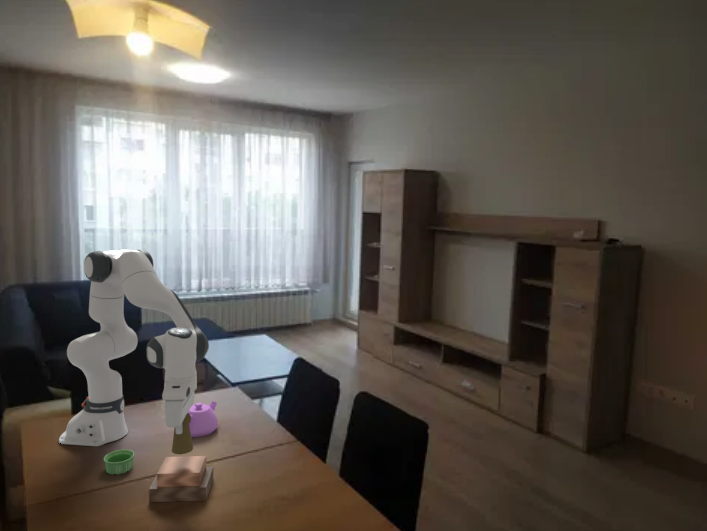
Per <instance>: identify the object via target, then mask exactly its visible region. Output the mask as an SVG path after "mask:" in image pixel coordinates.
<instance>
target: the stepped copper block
mask: <svg viewBox="0 0 707 531" xmlns="http://www.w3.org/2000/svg"><path fill="white" fill-rule="evenodd" d="M213 481H214V466H212V465H211V466H207V456H206V455H196V456H195V455H194V456H193V455H189V456H188V455H187V456H185V455H184V456H165V458H164V460H163V462H162V463H161V466H160V467H159V469H158V471H157V472H156V475H155V477H154V479H153V481H152V483H151V484H150V485H149V486H150V487H149V489H148V502H149V503H165V502H166V503H167V502H194V501H195V502H196V501H198V502H199V501H207V500H208V496H209V493H210V490H211V487H212V485H213V484H212V483H213Z"/></svg>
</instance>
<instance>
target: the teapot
mask: <svg viewBox="0 0 707 531" xmlns="http://www.w3.org/2000/svg"><path fill="white" fill-rule="evenodd" d="M217 404H218V403H217V402H216V401H213V400H211V402H210V404H206V403H202V402H195V403H194V404H192V406H191V408H190V409H189V414H190V416H191V422H190V424H189V426H190V432H191V438H202V437H206V436H209V435H210V434H213V433H214V431H216V429H217V428H218V425H219V423H218V418H217V415H216V413H215V410H216V406H217Z"/></svg>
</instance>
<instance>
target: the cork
mask: <svg viewBox="0 0 707 531" xmlns="http://www.w3.org/2000/svg"><path fill="white" fill-rule="evenodd" d="M190 422H191V416H190V414H189V413H187V415H186V417H185V418H184V420H183V422H182V426H183V432H182V434H176V428H175V427H173V428H174V431H173V437H172V438H173V439H172V446H171V452H172V453H173V454H174V455H186V454H188V453H190V452H192V451H193V450H194V445H193V439H192V438H193V437H191V432H190V426H189V424H190Z"/></svg>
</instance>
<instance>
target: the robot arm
mask: <svg viewBox="0 0 707 531" xmlns="http://www.w3.org/2000/svg"><path fill="white" fill-rule="evenodd" d="M154 265H155V264H154V258H153V257H152V255H151V254H150V252H148V251H146V250H143V249H136V250H135V249H126V248H125V249H124V248H123V249H122V248H119V249H113V250H111V249H109V250H97V251H96V250H95V251H91V252H90V253H89V252H88V254H87V255H86V256H85V258H84V261H83V271H84V275H85V277H86V278H87V279H88V280H89V281H90V288H89V303H88V316H89V317H90V318H91V319H92V320H93V321H94V322H96V323H99V325H100V330H99V331H96V332H92V333H89V334H88V333H87V334H85V335H84V334H83V335H82V336H80V337H77V338H75V339H73V340H72V341H70V343H68V346H67V349H66V356H67V359H68V361H69V362H70V363H71V364H72V365H73V366H74V367H77V368H78V369H80V370H81V371H82V372H83V375H84V376H85V378H86V381H87V382H86V383H87V392H88V393H87V394H88V396H86V397H85V398H86V399H84V401H83V403H81V407H82V409H81V410H80V411H79V412H78V413H77V414H75V415H74V416H73V417H72V418H71V419H69V421H68V423H67V425H66V429H65V431H63V432H62V434H61V435H60V436H59V439H58V443H59V444H60V443H61V444H60V445H73V446H84V447H85V446H87V447H99V446H103V445H104V444H107V443H111V442H115V441H118V440H120V439H121V438H124V437H125V436H127V434H128V433H129V428H128V426H127V424H126V419H125V413H124V411H125V399H124V394H123V380H122V379H123V378H122V375H121V374H120V372H118V371H117V370H113V369H112V368H110V365H109V362H110V361H112V360H115V359H119V358H121V357H124V356H126V355H128V354H130V353H133V351H135V350H136V348H137V346H138V334H136V333H137V332H135V331H134V330H133V328H131V327H130V326H128V324H127V322H126V320H125V313H124V306H125V305H124V304H125V301H124V300H125V297H126V299H127V300H128V302H129V303H130V304H132V305H134V306H136V307H138V308H141V309H147V310H154V311H158V312H162V313H164V314H166V315H168V316H169V317H170V318H171V320H172V321H173V323H174V324H175V326H176V327H172V328H170V329H168V330H166V332H165V333H164V334H161V335H157V336H154V337H152V338H151V339H150V340H149V341H148V342H147V344H146V346H145V357H146V361H147V363H149V364H150V365H151V366H153V367H155V368H156V369H164V371H165V373H164V387H163V389H162V390H163V391H162V395H161V396H162V397H161V398H162V400H163V401H164V415H165V423H166V426H167V428H176V434H182V432H183V426H182V422H183V420H184V418H185V417H186V415H187V413H189V409H190V408H191V406H192V405H194V403H195V391H196V390H197V389H198V388H197V387H198V385H197V384H198V382H197V381H198V380H197V375H198V374H197V372H198V371H197V369H196V362H197V363H198V362H201V361H202V360H203V359H204V358H205V357H206V356H207V353H208V352H209V351H208V350H209V347H210V344H209V340H208V337H207V336H206V334H205V333H204V332H203V331H202V330H201V328H199V326H198V325H197V323H196V322H195V321H194V318H193V317H192V316H191V314H190V313H189V311H188V309H187V307H186V305H185V304H184V303H183V301H182V300H181V298H180V297H179V296H178V294H177V293H176V292H175V291H174V290H172V289H170V288H168V287H167V286H166V285H164V284H163V283H162V281H161V280H160V278H159V277H158V274H157V273H156V270H155V268H154V267H155V266H154Z"/></svg>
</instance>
